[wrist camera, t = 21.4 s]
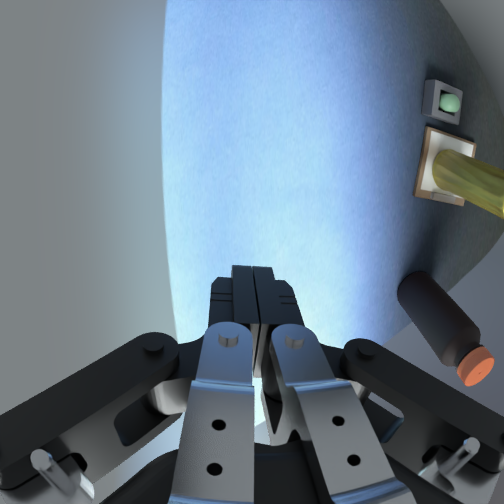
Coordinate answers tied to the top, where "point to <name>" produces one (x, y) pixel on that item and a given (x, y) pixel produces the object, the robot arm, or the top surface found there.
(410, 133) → the top surface
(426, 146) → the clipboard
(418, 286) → the bottle
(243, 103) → the top surface
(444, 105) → the button
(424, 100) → the button housing
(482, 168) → the vase
